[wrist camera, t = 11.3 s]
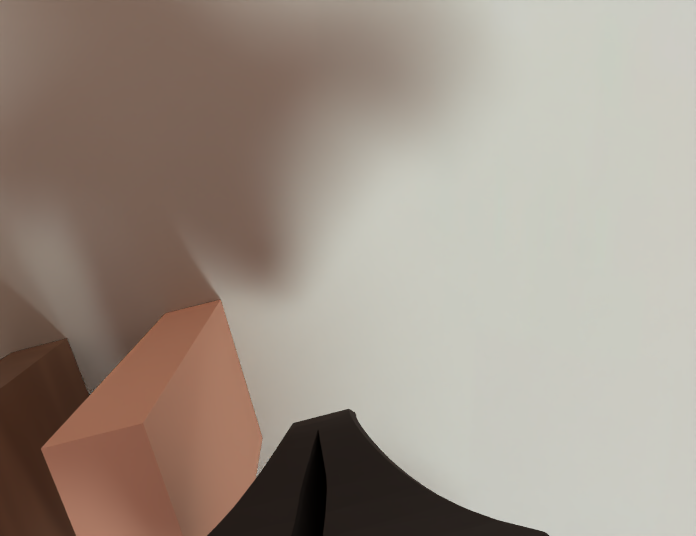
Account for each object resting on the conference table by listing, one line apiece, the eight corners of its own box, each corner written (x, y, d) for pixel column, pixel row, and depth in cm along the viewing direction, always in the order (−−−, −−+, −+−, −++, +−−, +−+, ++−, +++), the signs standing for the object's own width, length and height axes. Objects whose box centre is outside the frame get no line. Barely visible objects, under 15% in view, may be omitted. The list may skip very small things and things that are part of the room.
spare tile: (220, 299, 17) (143, 423, 9) (262, 437, 18) (224, 653, 10) (165, 313, 17) (40, 448, 9) (210, 451, 18) (133, 676, 10)
